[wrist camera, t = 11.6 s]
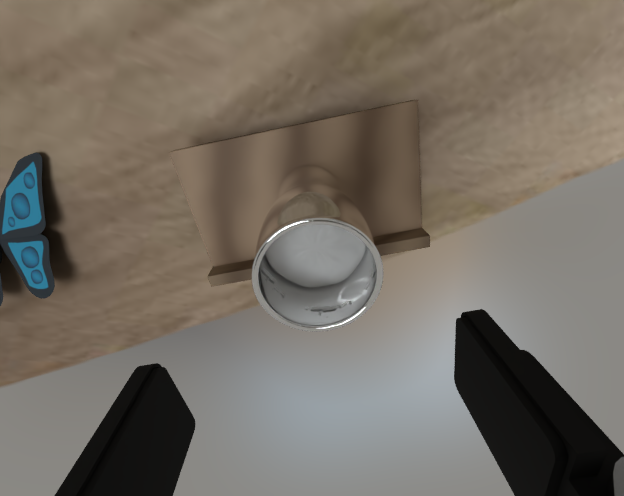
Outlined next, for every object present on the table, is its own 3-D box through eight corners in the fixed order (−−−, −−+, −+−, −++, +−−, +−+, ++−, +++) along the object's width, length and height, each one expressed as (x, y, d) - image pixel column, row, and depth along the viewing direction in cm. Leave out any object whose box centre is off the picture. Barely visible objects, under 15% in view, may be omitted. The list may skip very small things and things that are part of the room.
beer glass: (316, 244, 30) (327, 354, 17) (259, 204, 28) (219, 292, 15) (361, 191, 28) (417, 268, 14) (303, 144, 26) (304, 182, 12)
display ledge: (400, 101, 29) (427, 99, 23) (406, 221, 35) (429, 246, 28) (188, 145, 30) (158, 155, 24) (227, 255, 36) (211, 286, 30)
